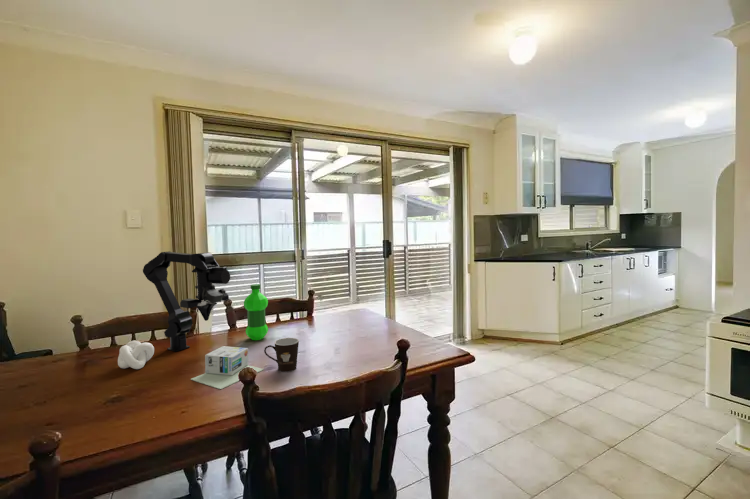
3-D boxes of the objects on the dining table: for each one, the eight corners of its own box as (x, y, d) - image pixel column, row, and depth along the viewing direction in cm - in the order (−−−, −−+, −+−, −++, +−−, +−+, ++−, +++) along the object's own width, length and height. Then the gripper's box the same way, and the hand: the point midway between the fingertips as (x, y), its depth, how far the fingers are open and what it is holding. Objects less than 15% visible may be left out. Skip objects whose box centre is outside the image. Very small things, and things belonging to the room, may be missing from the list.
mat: (190, 379, 125) (190, 378, 125) (234, 362, 140) (234, 361, 140) (220, 389, 117) (220, 388, 117) (263, 369, 132) (263, 369, 132)
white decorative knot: (150, 358, 146) (149, 335, 145) (159, 366, 137) (157, 342, 137) (116, 365, 138) (114, 342, 138) (123, 374, 130) (121, 350, 129)
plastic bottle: (273, 337, 171) (271, 284, 170) (255, 343, 162) (253, 287, 161) (259, 333, 177) (257, 282, 175) (240, 339, 168) (238, 285, 166)
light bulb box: (204, 373, 129) (232, 376, 127) (204, 354, 128) (231, 357, 126) (223, 362, 139) (249, 365, 137) (222, 345, 139) (248, 347, 137)
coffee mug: (303, 365, 136) (303, 339, 136) (291, 374, 128) (290, 346, 128) (277, 361, 140) (276, 336, 140) (263, 370, 132) (262, 343, 131)
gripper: (195, 288, 139) (197, 328, 140) (236, 281, 155) (238, 317, 156) (178, 286, 145) (180, 325, 146) (219, 279, 161) (221, 314, 162)
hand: (206, 320), depth 152 cm, fingers closed
